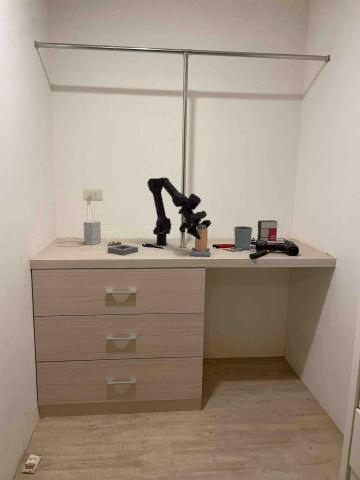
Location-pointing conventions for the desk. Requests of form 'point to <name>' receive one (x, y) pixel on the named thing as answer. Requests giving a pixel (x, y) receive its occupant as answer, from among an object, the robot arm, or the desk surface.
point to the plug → (203, 234)
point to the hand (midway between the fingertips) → (202, 238)
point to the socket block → (122, 249)
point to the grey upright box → (267, 230)
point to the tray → (200, 253)
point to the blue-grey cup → (243, 237)
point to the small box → (92, 232)
